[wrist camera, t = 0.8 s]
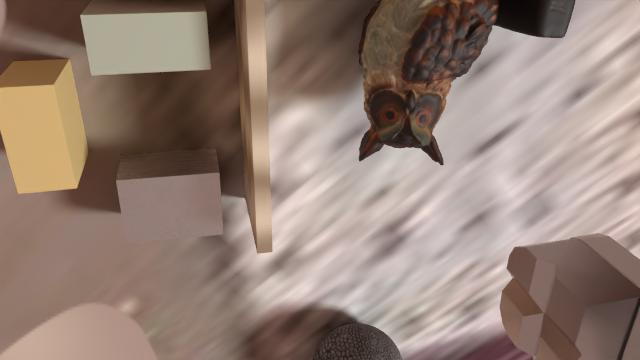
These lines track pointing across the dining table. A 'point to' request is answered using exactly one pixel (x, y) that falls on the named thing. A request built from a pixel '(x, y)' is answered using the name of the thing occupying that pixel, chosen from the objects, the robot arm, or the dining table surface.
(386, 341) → the decorative ball
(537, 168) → the dining table surface
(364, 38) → the brown owl figurine
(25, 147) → the book
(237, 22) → the shelf corner
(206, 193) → the block
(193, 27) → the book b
